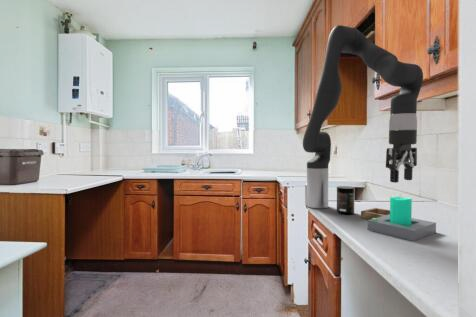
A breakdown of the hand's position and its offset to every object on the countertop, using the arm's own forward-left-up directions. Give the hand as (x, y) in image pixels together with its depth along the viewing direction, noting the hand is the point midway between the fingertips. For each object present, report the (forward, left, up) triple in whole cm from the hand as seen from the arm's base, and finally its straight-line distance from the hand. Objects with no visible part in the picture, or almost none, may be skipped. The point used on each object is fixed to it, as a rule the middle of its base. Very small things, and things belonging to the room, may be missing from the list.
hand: (401, 181), depth 90 cm
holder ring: (-12, +10, -16) cm, 22 cm away
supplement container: (-25, +7, -16) cm, 30 cm away
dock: (0, 0, -16) cm, 16 cm away
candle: (0, 0, -16) cm, 16 cm away
